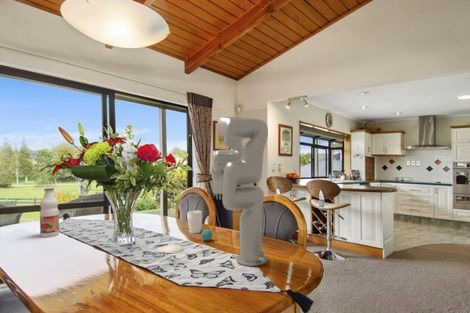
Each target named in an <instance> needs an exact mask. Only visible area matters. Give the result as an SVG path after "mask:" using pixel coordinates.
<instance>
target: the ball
mask: <svg viewBox="0 0 470 313" xmlns="http://www.w3.org/2000/svg"><path fill="white" fill-rule="evenodd" d="M200 237H201V239H202V240H203V241H205V242H208V241H211V239H212V238H213V232H212V230H210V229H208V228H206V229H203V230H201V232H200Z"/></svg>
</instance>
